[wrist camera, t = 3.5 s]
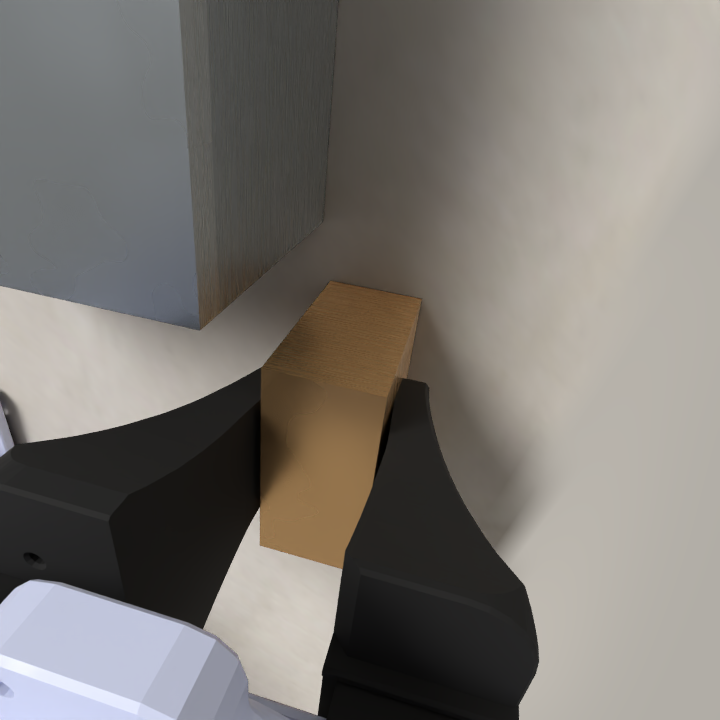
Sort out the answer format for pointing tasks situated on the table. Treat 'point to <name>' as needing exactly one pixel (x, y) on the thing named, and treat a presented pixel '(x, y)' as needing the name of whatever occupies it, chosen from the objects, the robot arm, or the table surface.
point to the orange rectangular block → (330, 417)
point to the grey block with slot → (160, 147)
